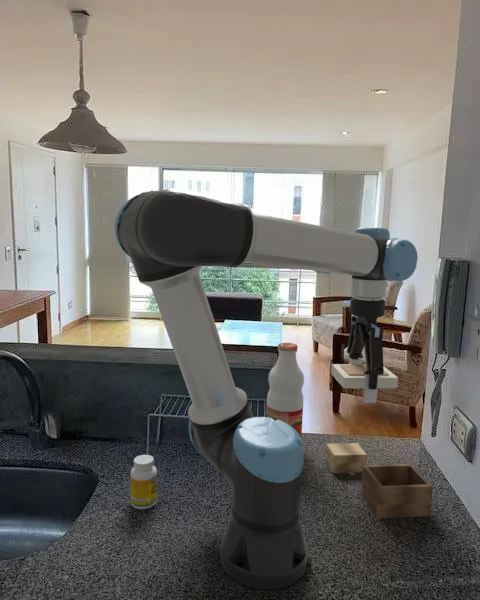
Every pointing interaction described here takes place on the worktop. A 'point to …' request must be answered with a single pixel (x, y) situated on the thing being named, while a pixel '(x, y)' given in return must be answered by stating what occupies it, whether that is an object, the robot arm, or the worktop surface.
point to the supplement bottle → (143, 482)
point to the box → (396, 490)
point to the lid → (361, 376)
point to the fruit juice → (286, 388)
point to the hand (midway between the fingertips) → (361, 393)
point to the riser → (345, 457)
